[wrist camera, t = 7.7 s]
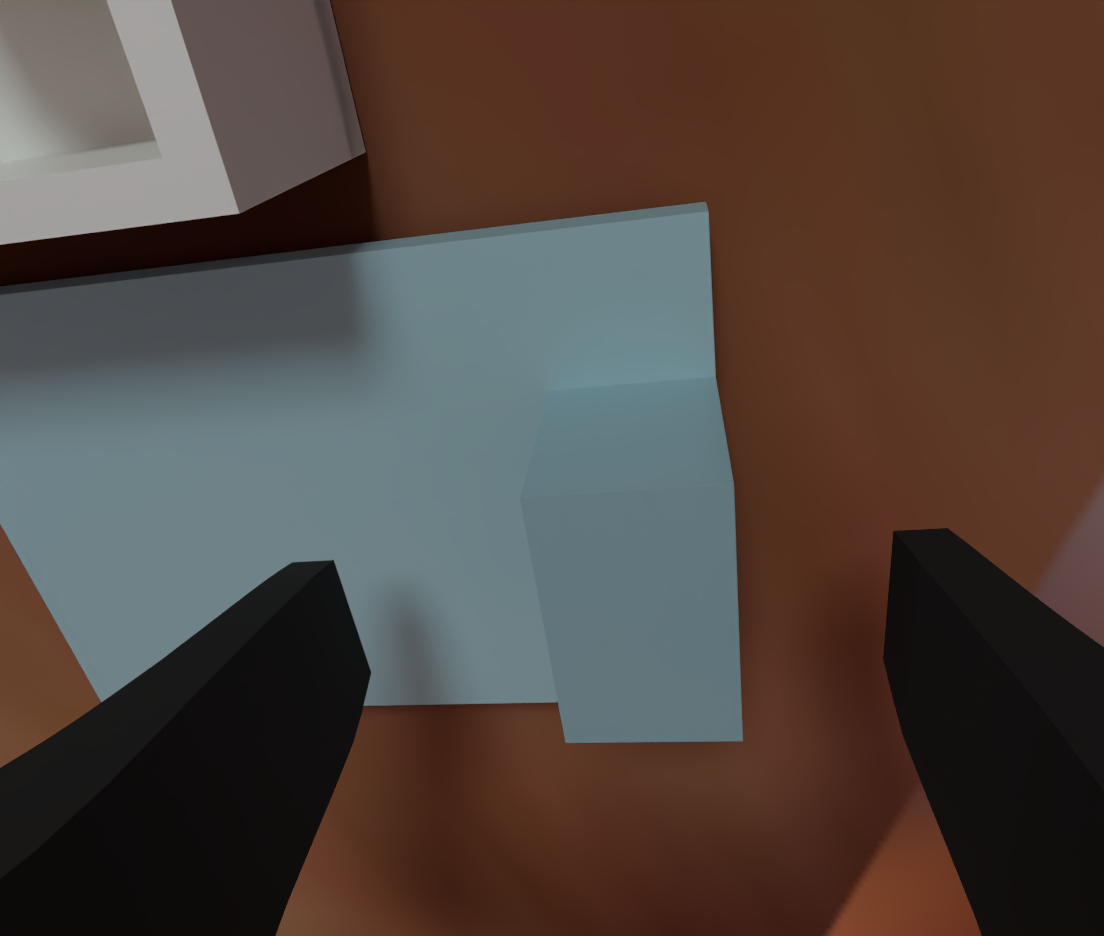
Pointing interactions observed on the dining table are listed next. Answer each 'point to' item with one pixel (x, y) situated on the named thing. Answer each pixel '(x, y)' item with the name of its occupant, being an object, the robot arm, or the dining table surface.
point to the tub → (164, 110)
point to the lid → (398, 462)
